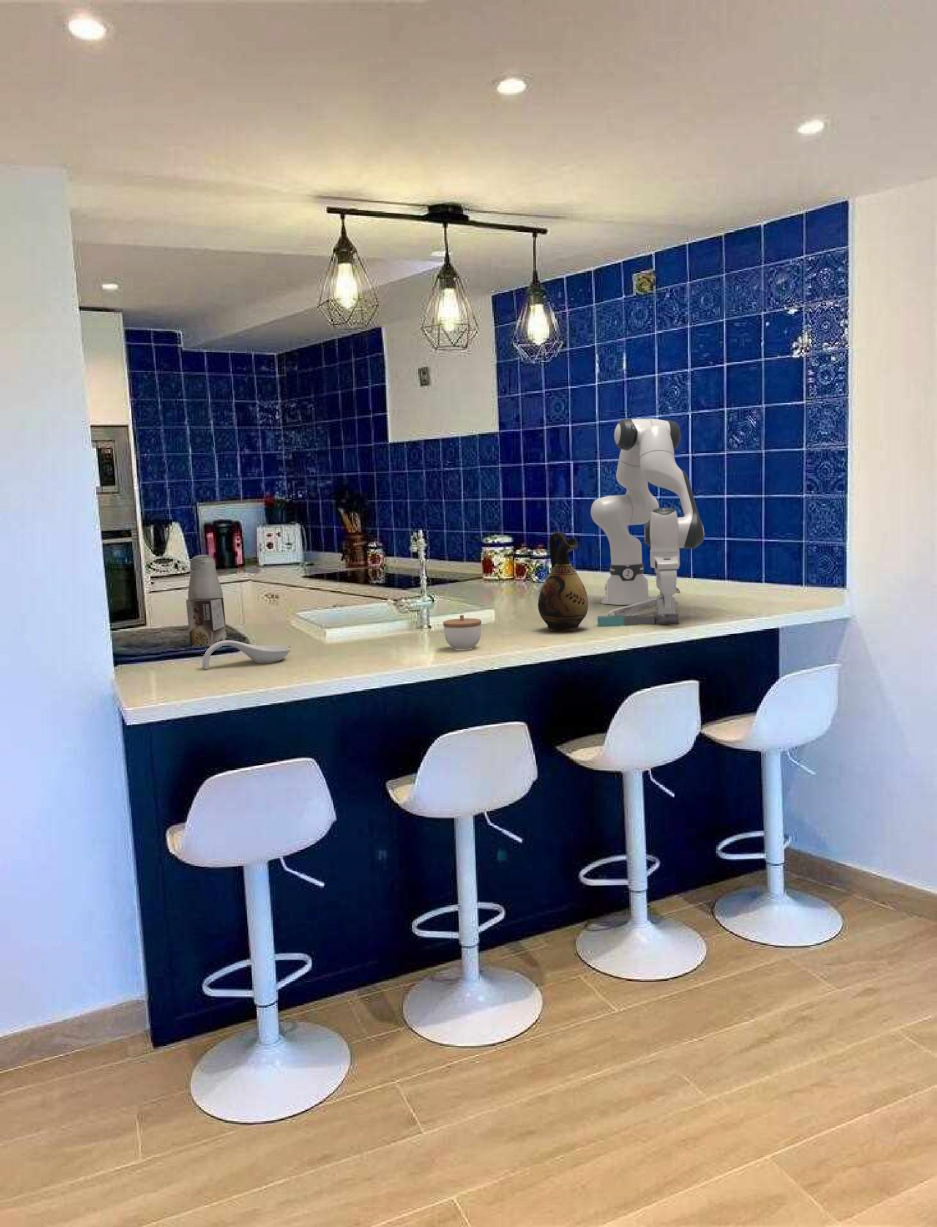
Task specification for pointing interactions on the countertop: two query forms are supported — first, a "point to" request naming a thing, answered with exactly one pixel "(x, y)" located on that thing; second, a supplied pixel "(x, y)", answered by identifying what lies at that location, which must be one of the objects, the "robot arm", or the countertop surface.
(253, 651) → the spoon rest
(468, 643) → the lidded jar
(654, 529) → the robot arm
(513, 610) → the countertop surface
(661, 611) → the socket
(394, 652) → the countertop surface
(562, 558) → the ceramic jug
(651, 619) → the ratchet
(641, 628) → the countertop surface
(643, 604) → the wrench
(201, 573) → the grey tapered cylinder
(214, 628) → the coffee box
